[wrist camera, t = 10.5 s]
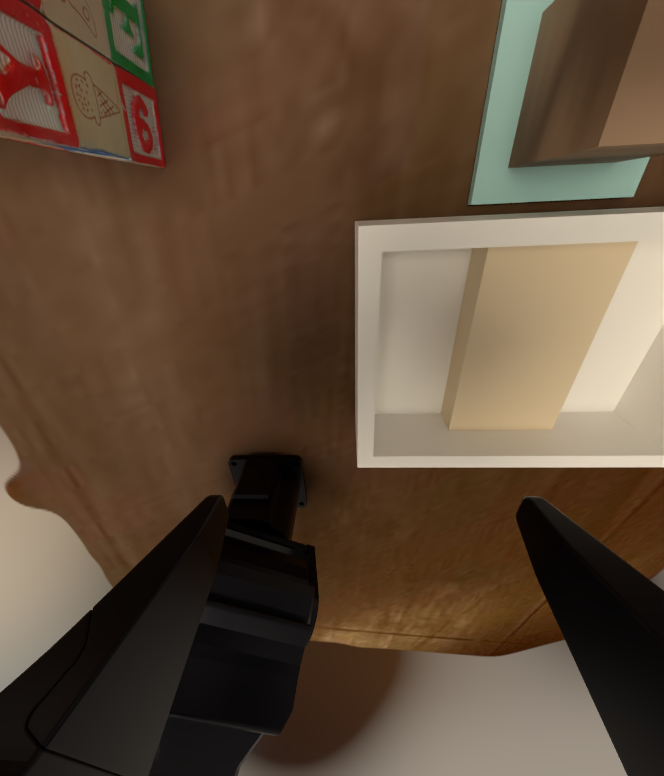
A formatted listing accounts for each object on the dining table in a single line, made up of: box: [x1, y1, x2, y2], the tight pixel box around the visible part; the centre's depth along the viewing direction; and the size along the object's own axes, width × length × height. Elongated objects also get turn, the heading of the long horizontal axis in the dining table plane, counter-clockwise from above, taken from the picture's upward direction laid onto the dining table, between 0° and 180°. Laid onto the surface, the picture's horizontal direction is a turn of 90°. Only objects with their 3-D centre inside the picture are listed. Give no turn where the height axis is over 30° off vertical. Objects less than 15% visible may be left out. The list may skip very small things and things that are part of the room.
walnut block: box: [508, 0, 664, 168], centre depth 10 cm, size 5×5×6 cm
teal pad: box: [468, 0, 650, 205], centre depth 13 cm, size 8×8×1 cm
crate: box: [355, 206, 664, 468], centre depth 17 cm, size 14×20×5 cm
